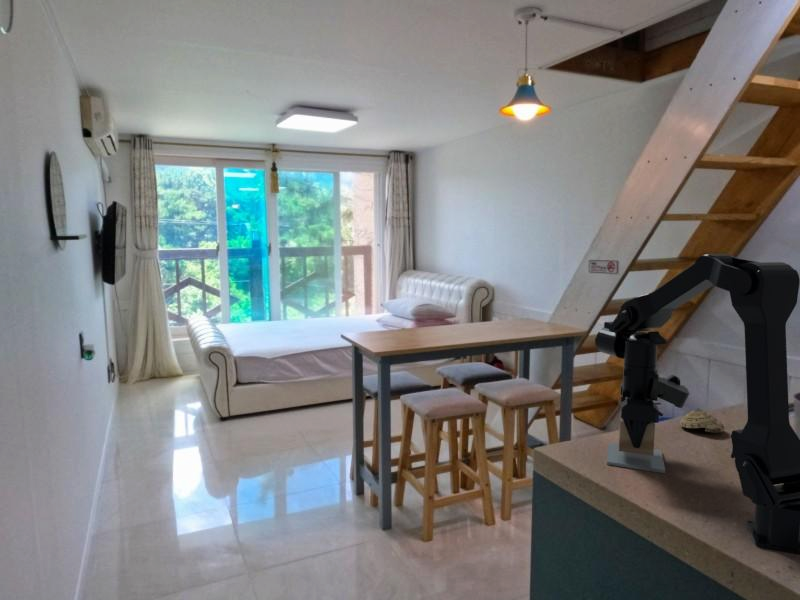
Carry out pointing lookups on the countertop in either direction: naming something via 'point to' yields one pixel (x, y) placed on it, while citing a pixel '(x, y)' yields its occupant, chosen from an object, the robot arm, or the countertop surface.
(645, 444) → the beige cube
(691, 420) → the seashell
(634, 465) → the coaster
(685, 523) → the countertop surface
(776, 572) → the countertop surface
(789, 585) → the countertop surface
